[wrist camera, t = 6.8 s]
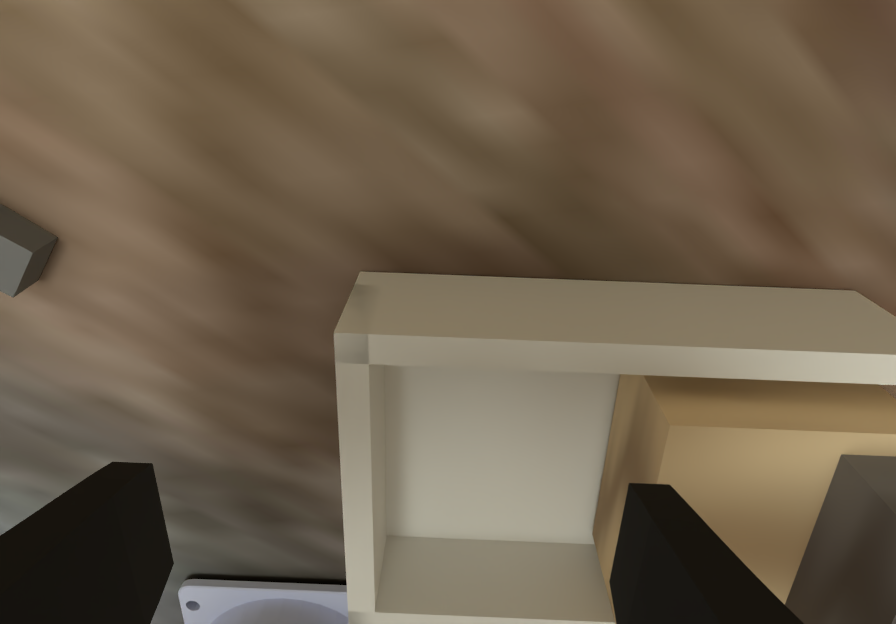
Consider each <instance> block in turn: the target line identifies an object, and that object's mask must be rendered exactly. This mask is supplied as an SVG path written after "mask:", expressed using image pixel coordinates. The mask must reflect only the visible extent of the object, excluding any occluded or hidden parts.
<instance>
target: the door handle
mask: <svg viewBox="0 0 896 624" xmlns="http://www.w3.org/2000/svg"><path fill="white" fill-rule="evenodd" d="M57 238H58V237H56V236H54V235H53V234H51V233H49V232H48V231H46V230H44V229H43V228H41V227H39V226H37V225H36V224H34V223H32V222H31V221H29V220H27V219H26V218H24V217H22V216H20V215H19V214H17V213H15V212H14V211H12V210H10V209H9V208H7V207H5V206H3V205H2V204H0V291H1V292H3V293H5V294H7V295H9V296H11V297H15V296H16V295H18V294H19V293H20V292H22V291H23V290H25V289H26V288H28V287H29V286H31V285H32V284H33V283H35V282H36V281H38V280H39V277H40V275H41V273H42V271H43V269H44V267H45V264H46V262H47V260H48V258H49V256H50V253H51V251H52V249H53V247H54V245H55V242H56V240H57Z"/></svg>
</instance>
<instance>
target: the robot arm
mask: <svg viewBox="0 0 896 624" xmlns="http://www.w3.org/2000/svg"><path fill="white" fill-rule="evenodd" d="M173 564H174V563H173V558H172V553H171V548H170V544H169V539H168V534H167V530H166V525H165V520H164V516H163V511H162V506H161V502H160V497H159V492H158V487H157V483H156V478H155V473H154V469H153V464H152V463H128V462H111V463H110V464H108V465H107V466H105V467H103V468H102V469H100V470H98V471H97V472H95V473H94V474H92V475H90V476H89V477H87V478H86V479H84V480H83V481H81V482H80V483H78V484H77V485H75V486H74V487H72V488H71V489H69V490H68V491H66V492H65V493H63V494H62V495H60V496H59V497H57V498H56V499H54V500H53V501H51V502H50V503H48V504H47V505H45V506H44V507H43V508H41V509H40V510H38V511H37V512H35V513H34V514H32V515H31V516H29V517H28V518H26V519H25V520H23V521H22V522H20V523H19V524H17V525H16V526H14V527H13V528H11V529H10V530H8V531H7V532H5V533H4V534H2V535H1V536H0V624H150V623H151V620H152V618H153V615H154V613H155V610H156V608H157V606H158V603H159V601H160V598H161V596H162V593H163V590H164V588H165V585H166V582H167V580H168V577H169V574H170V572H171V569H172V567H173ZM609 583H610V589H611V595H612V600H613V606H614V612H615V618H616V624H804V623H803V622H802V621H801V620H800V619H799V618H798V617H797V616H796V615H795V614H794V613H793V612H792V611H791V610H790V609H789V608H788V607H786V606H785V605H784V604H783V603H782V602H781V601H780V600H779V599H778V598H777V597H776V596H775V595H774V594H773V593H772V592H771V591H770V590H769V589H768V587H767V586H766V585H765V584H764V583H763V582H762V581H761V580H760V579H759V578H758V577H757V576H756V575H755V574H754V573H753V572H752V571H751V570H750V569H749V568H748V567H747V566H746V565H745V564H744V563H743V562H742V561H741V560H740V559H739V558H738V557H737V556H736V555H735V553H734V552H733V551H732V550H731V549H730V548H729V547H728V546H727V545H726V544H725V543H724V542H723V541H722V540H721V539H720V538H719V536H718V535H717V534H716V533H715V532H714V531H713V530H712V529H711V528H710V527H709V526H708V525H707V524H706V523H705V522H704V520H703V519H702V518H701V517H700V516H699V515H698V514H697V513H696V512H695V511H694V510H693V509H692V508H691V506H690V505H689V504H688V503H687V502H686V501H685V500H684V499H683V498H682V497H681V496H680V495H679V494H678V493H677V492H676V490H675V489H674V488H673V487H672V486H671V485H670V484H646V483H629V485H628V490H627V495H626V500H625V505H624V510H623V515H622V520H621V525H620V530H619V535H618V540H617V545H616V550H615V555H614V560H613V565H612V571H611V576H610V581H609ZM178 596H179V601H180V605H181V610H182V615H183V619H184V624H349V621H348V602H347V585H328V584H304V583H280V582H256V581H232V580H208V579H188V580H186V581H184V582H183V583H182V585H181V587H180V589H179V591H178Z"/></svg>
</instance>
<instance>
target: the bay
mask: <svg viewBox="0 0 896 624" xmlns="http://www.w3.org/2000/svg"><path fill="white" fill-rule="evenodd" d="M334 351H335V370H336V390H337V409H338V428H339V447H340V467H341V486H342V505H343V525H344V544H345V563H346V583H347V602H348V621H349V624H615V620H614V616H613V612H612V608H611V604H610V600H609V597H608V593H607V589H606V585H605V581H604V577H603V574H602V570H601V566H600V562H599V558H598V554H597V550H596V547H595V543H594V539H593V535H592V533H593V527H594V521H595V516H596V510H597V504H598V499H599V493H600V487H601V481H602V476H603V470H604V464H605V459H606V453H607V447H608V442H609V436H610V430H611V424H612V419H613V413H614V407H615V402H616V396H617V390H618V384H619V379H620V374H628V375H653V376H679V377H704V378H729V379H755V380H780V381H805V382H831V383H856V384H882V385H896V317H895V316H893V315H892V314H890V313H889V312H887V311H886V310H884V309H883V308H881V307H879V306H878V305H876V304H875V303H873V302H872V301H870V300H869V299H867V298H866V297H864V296H863V295H861V294H860V293H858V292H856V291H855V290H829V289H803V288H777V287H751V286H724V285H698V284H672V283H646V282H620V281H594V280H568V279H542V278H516V277H490V276H464V275H438V274H412V273H386V272H360V273H359V275H358V278H357V280H356V282H355V284H354V287H353V289H352V291H351V294H350V296H349V298H348V301H347V303H346V305H345V308H344V310H343V312H342V315H341V317H340V319H339V321H338V324H337V326H336V328H335V331H334Z"/></svg>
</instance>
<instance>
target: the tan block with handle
mask: <svg viewBox="0 0 896 624" xmlns="http://www.w3.org/2000/svg"><path fill="white" fill-rule="evenodd" d="M629 483H646V484H670V485H671V486H672V487H673V488H674V489H675V490H676V492H677V493H678V494H679V495H680V496H681V497H682V498H683V499H684V500H685V501H686V502H687V503H688V504H689V505H690V506H691V508H692V509H693V510H694V511H695V512H696V513H697V514H698V515H699V516H700V517H701V518H702V519H703V520H704V522H705V523H706V524H707V525H708V526H709V527H710V528H711V529H712V530H713V531H714V532H715V533H716V534H717V535H718V536H719V538H720V539H721V540H722V541H723V542H724V543H725V544H726V545H727V546H728V547H729V548H730V549H731V550H732V551H733V552H734V553H735V555H736V556H737V557H738V558H739V559H740V560H741V561H742V562H743V563H744V564H745V565H746V566H747V567H748V568H749V569H750V570H751V571H752V572H753V573H754V574H755V575H756V576H757V577H758V578H759V579H760V580H761V581H762V582H763V583H764V584H765V585H766V586H767V587H768V589H769V590H770V591H771V592H772V593H773V594H774V595H775V596H776V597H777V598H778V599H779V600H780V601H781V602H782V603H783V604H784V605H785V606H786V607H788V608H789V609H790V610H791V611H792V612H793V613H794V614H795V615H796V616H797V617H798V618H799V619H800V620H801V621H802V622H803V623H804V624H896V399H895V398H894V397H892V396H891V395H890V394H889V393H888V392H886V391H885V390H884V389H883V388H882V387H881V386H879V385H878V384H856V383H831V382H805V381H780V380H755V379H729V378H704V377H679V376H653V375H628V374H620V379H619V384H618V390H617V396H616V402H615V407H614V413H613V419H612V424H611V430H610V436H609V442H608V447H607V453H606V459H605V464H604V470H603V476H602V481H601V487H600V493H599V499H598V504H597V510H596V516H595V521H594V527H593V533H592V535H593V539H594V543H595V547H596V550H597V554H598V558H599V562H600V566H601V570H602V574H603V577H604V581H605V585H606V589H607V593H608V597H609V600H610V604H611V608H612V612H613V616H614V620H615V624H616V618H615V612H614V606H613V600H612V595H611V589H610V583H609V581H610V576H611V571H612V565H613V560H614V555H615V550H616V545H617V540H618V535H619V530H620V525H621V520H622V515H623V510H624V505H625V500H626V495H627V490H628V485H629Z"/></svg>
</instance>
